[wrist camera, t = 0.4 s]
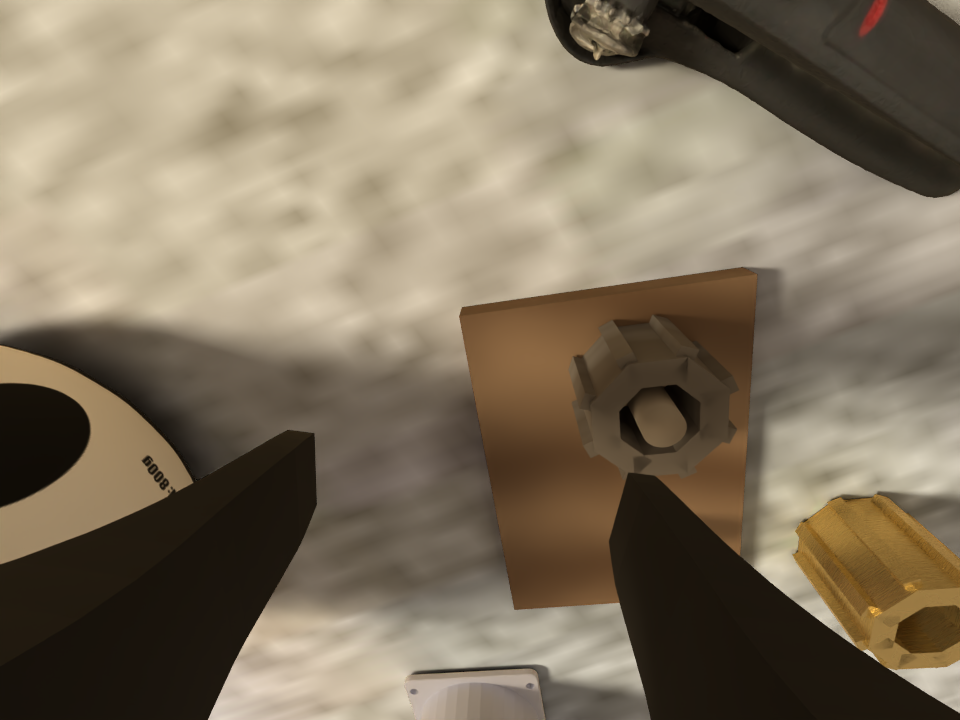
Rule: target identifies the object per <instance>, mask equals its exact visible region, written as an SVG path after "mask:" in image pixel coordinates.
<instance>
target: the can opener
mask: <svg viewBox="0 0 960 720" xmlns="http://www.w3.org/2000/svg"><path fill="white" fill-rule="evenodd" d="M545 4H546V9H547V13H548V16H549V19H550V23H551V25H552V27H553V30H554V32H555V34H556V36H557V38H558V39H559V41H560V42H561V44H562V45H563V47H564V48H565V49H566V50H567V51H568V52H569V53H570V54H571V55H573V56H574V57H575V58H576V59H578V60H580V61H582V62H584V63H587V64H590V65H596V66H602V67H603V66H610V65H618V64H622V63H628V62H631V61H638V60H642V59H645V58H653V57H658V58H664V59H667V60H670V61H673V62H676V63H678V64H682V65H684V66H686V67H689V68H692V69H694V70H697V71H699V72H701V73H704V74H707V75H708V76H710V77H712V78H714V79H716V80H718V81H721V82H723V83H724V84H726V85H727V86H729V87H730V88H733V89H735V90H737V91H738V92H740V93H741V94H743V95H745V96H746V97H748V98H749V99H750V100H752V101H754V102H756V103H757V104H759V105H760V106H761V107H763V108H764V109H766V110H767V111H769V112H771V113H772V114H774V115H775V116H776V117H778V118H779V119H781V120H782V121H784V122H785V123H787V124H789V125H790V126H792V127H793V128H795V129H797V130H798V131H800V132H801V133H803V134H804V135H806V136H808V137H809V138H811V139H812V140H814V141H816V142H817V143H819V144H820V145H822V146H824V147H826V148H827V149H829V150H830V151H832V152H834V153H835V154H837V155H839V156H841V157H842V158H844V159H846V160H848V161H850V162H851V163H853V164H855V165H858V166H860V167H861V168H863V169H865V170H866V171H869V172H871V173H873V174H875V175H877V176H879V177H881V178H883V179H886V180H888V181H890V182H892V183H894V184H896V185H899V186H902V187H904V188H906V189H907V190H910V191H914V192H916V193H918V194H920V195H922V196H926V197H933V198H937V197H943V196H948V195H950V194H952V193H954V192H955V191H957V190H959V189H960V26H959V25H958V24H957V23H956V22H954V21H953V20H952V19H951V18H949V17H948V16H947V15H945V14H944V13H942V12H941V11H939V10H938V9H937V8H936V7H935V6H933V5H932V4H930V3H929V2H928V1H927V0H545Z"/></svg>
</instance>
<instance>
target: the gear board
mask: <svg viewBox="0 0 960 720" xmlns="http://www.w3.org/2000/svg"><path fill="white" fill-rule="evenodd" d="M756 290H757V274H756V273H754V272H751V271H749V270H747V269H745V268H743V267H741V268H734V269H727V270H720V271H713V272H706V273H699V274H692V275H685V276H678V277H671V278H664V279H657V280H650V281H643V282H636V283H629V284H622V285H615V286H608V287H601V288H594V289H587V290H580V291H573V292H566V293H559V294H552V295H545V296H538V297H531V298H524V299H517V300H510V301H503V302H496V303H489V304H482V305H475V306H468V307H462V309H461V312H460V315H459V318H460V323H461V328H462V334H463V339H464V344H465V350H466V355H467V360H468V365H469V371H470V376H471V381H472V387H473V392H474V397H475V403H476V408H477V413H478V419H479V424H480V429H481V435H482V440H483V445H484V450H485V456H486V461H487V466H488V472H489V477H490V482H491V488H492V493H493V498H494V504H495V509H496V514H497V519H498V525H499V530H500V535H501V541H502V546H503V551H504V557H505V562H506V567H507V573H508V578H509V583H510V589H511V594H512V599H513V604H514V610H519V609H533V608H548V607H563V606H577V605H592V604H607V603H620V602H619V598H618V594H617V590H616V587H615V582H614V575H613V569H612V562H611V555H610V547H609V539H610V535H611V532H612V528H613V525H614V521H615V517H616V514H617V510H618V507H619V503H620V500H621V496H622V493H623V489H624V485H625V482H626V478H627V475H628V472H630V473H638V474H646V475H654V476H656V477H657V478H658V479H660V480H661V481H662V482H663V483H664V484H665V485H666V486H667V487H668V488H669V489H670V490H671V491H672V492H673V493H674V494H675V495H676V496H677V497H678V498H679V499H681V500H682V501H683V502H684V503H685V504H686V505H687V506H688V507H689V508H690V509H691V510H692V511H693V512H694V513H695V514H696V515H697V516H698V517H699V518H700V519H701V520H702V521H703V522H704V523H705V524H706V525H707V526H708V527H709V528H710V529H711V530H712V531H713V532H714V533H715V534H717V535H718V536H719V537H720V538H721V539H722V540H723V541H724V542H725V543H726V544H727V545H728V546H729V547H731V548H732V549H733V550H734V551H735V552H736V553H737V554H738V555H739V556H740V549H741V533H742V517H743V501H744V484H745V468H746V452H747V436H748V419H749V403H750V387H751V371H752V354H753V338H754V322H755V306H756Z"/></svg>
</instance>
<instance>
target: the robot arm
mask: <svg viewBox="0 0 960 720" xmlns="http://www.w3.org/2000/svg"><path fill="white" fill-rule="evenodd" d="M316 505H317V497H316V467H315V437H314V433H308V432H300V431H292V430H287V431H285V432H283V433H281V434H279V435H277V436H276V437H274V438H272V439H270V440H269V441H267V442H265V443H263V444H262V445H260V446H258V447H257V448H255V449H253V450H251V451H250V452H248V453H246V454H245V455H243V456H241V457H239V458H238V459H236V460H234V461H232V462H231V463H229V464H227V465H225V466H224V467H222V468H220V469H218V470H217V471H215V472H213V473H211V474H209V475H208V476H206V477H204V478H202V479H200V480H198V481H196V482H194V483H192V484H190V485H188V486H187V487H185V488H183V489H181V490H179V491H177V492H175V493H173V494H171V495H169V496H167V497H165V498H164V499H162V500H160V501H158V502H156V503H153V504H151V505H149V506H147V507H145V508H143V509H141V510H139V511H136V512H134V513H132V514H130V515H128V516H125V517H123V518H121V519H118V520H116V521H114V522H111V523H109V524H107V525H104V526H102V527H100V528H97V529H95V530H92V531H90V532H88V533H85V534H82V535H80V536H77V537H74V538H72V539H69V540H66V541H64V542H61V543H58V544H56V545H53V546H50V547H48V548H45V549H42V550H40V551H37V552H34V553H32V554H29V555H26V556H23V557H21V558H18V559H15V560H12V561H9V562H6V563H3V564H0V720H208V718H209V716H210V714H211V711H212V709H213V707H214V705H215V703H216V701H217V698H218V696H219V694H220V692H221V690H222V687H223V685H224V683H225V681H226V679H227V677H228V674H229V672H230V670H231V668H232V666H233V664H234V662H235V660H236V658H237V656H238V654H239V652H240V650H241V648H242V646H243V644H244V643H245V641H246V639H247V637H248V635H249V634H250V632H251V630H252V628H253V627H254V625H255V623H256V621H257V620H258V618H259V616H260V614H261V613H262V611H263V609H264V608H265V606H266V604H267V602H268V601H269V599H270V597H271V595H272V594H273V592H274V590H275V588H276V587H277V585H278V583H279V582H280V580H281V578H282V576H283V575H284V573H285V571H286V569H287V568H288V566H289V564H290V562H291V560H292V559H293V557H294V555H295V553H296V552H297V550H298V548H299V546H300V544H301V542H302V539H303V537H304V535H305V533H306V530H307V528H308V525H309V523H310V520H311V518H312V515H313V513H314V510H315V508H316ZM609 547H610V555H611V562H612V569H613V575H614V582H615V587H616V590H617V594H618V598H619V602H620V605H621V609H622V613H623V616H624V620H625V624H626V627H627V631H628V634H629V638H630V641H631V645H632V648H633V652H634V656H635V659H636V663H637V666H638V670H639V673H640V677H641V680H642V684H643V688H644V691H645V696H646V700H647V704H648V708H649V712H650V717H651V720H960V713H958V712H957V711H955V710H953V709H952V708H950V707H948V706H947V705H945V704H943V703H942V702H940V701H938V700H937V699H935V698H933V697H932V696H930V695H928V694H927V693H925V692H924V691H922V690H921V689H919V688H917V687H916V686H914V685H913V684H911V683H910V682H908V681H906V680H905V679H903V678H902V677H900V676H898V675H897V674H895V673H894V672H892V671H891V670H889V669H888V668H886V667H885V666H883V665H882V664H880V663H879V662H877V661H876V660H875V659H873V658H872V657H870V656H869V655H867V654H866V653H864V652H863V651H861V650H860V649H858V648H857V647H855V646H854V645H852V644H851V643H849V642H848V641H847V640H845V639H844V638H842V637H841V636H840V635H838V634H837V633H835V632H834V631H833V630H831V629H830V628H828V627H827V626H826V625H824V624H823V623H822V622H820V621H819V620H818V619H816V618H815V617H814V616H812V615H811V614H810V613H809V612H807V611H806V610H805V609H803V608H802V607H801V606H799V605H798V604H797V603H795V602H794V601H793V600H792V599H790V598H789V597H788V596H786V595H785V594H784V593H783V592H781V591H780V590H779V589H778V588H777V587H775V586H774V585H773V584H772V583H770V582H769V581H768V580H767V579H766V578H765V577H763V576H762V575H761V574H760V573H759V572H758V571H757V570H755V569H754V568H753V567H752V566H751V565H750V564H748V563H747V562H746V561H745V560H744V559H743V558H742V557H740V556H739V555H738V554H737V553H736V552H735V551H734V550H733V549H732V548H731V547H729V546H728V545H727V544H726V543H725V542H724V541H723V540H722V539H721V538H720V537H719V536H718V535H717V534H715V533H714V532H713V531H712V530H711V529H710V528H709V527H708V526H707V525H706V524H705V523H704V522H703V521H702V520H701V519H700V518H699V517H698V516H697V515H696V514H695V513H694V512H693V511H692V510H691V509H690V508H689V507H688V506H687V505H686V504H685V503H684V502H683V501H682V500H681V499H679V498H678V497H677V496H676V495H675V494H674V493H673V492H672V491H671V490H670V489H669V488H668V487H667V486H666V485H665V484H664V483H663V482H662V481H661V480H660V479H658V478H657V477H656V476H654V475H646V474H638V473H630V472H628V475H627V478H626V482H625V485H624V489H623V493H622V496H621V500H620V503H619V507H618V510H617V514H616V517H615V521H614V525H613V528H612V532H611V535H610V539H609ZM404 686H405V689H406V692H407V695H408V698H409V701H410V704H411V707H412V710H413V712H414V715H415V718H416V720H546V719H545V713H544V707H543V702H542V696H541V690H540V684H539V679H538V674H537V672H536V671H535V670H533V669H510V670H491V671H473V672H454V673H435V674H417V675H409V676H407V677H406V679H405V683H404Z"/></svg>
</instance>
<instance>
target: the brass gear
mask: <svg viewBox="0 0 960 720" xmlns="http://www.w3.org/2000/svg"><path fill="white" fill-rule="evenodd" d="M827 503H828V505H827V506H825V507H824V508H823V509H821V510H820V511H819V512H817V513H816V514H815V515H813V516H812V517H811V518H809V519H808V520H807V521H805V522H801V523H800V524H799V526H798V527H797V529H796V531H795V532H796V533H797V535H798V536H799V545H798V553H795V554H792V555H793V557H794V559H795V561H796V563H797V564H798V566H799V567H800V569H801V570H802V571H803V573H804V574H805V576H806V577H807V578H808V580H809V581H810V583H811V584H812V585H813V587H814V588H815V590H816V591H817V592H818V594H819V595H820V597H821V598H822V599H823V601H824V602H825V604H826V605H827V606H828V608H829V609H830V611H831V612H832V613H833V615H834V616H835V618H836V619H837V620H838V622H839V623H840V625H841V626H842V627H843V629H844V630H845V632H846V633H847V634H848V636H849V637H850V639H851V640H852V641H853V643H854V644H855V646H856V647H857V648H858V649H860V650H861V651H863V650H866V649H868V650H869V651H871V652H872V653H873V654H874V655H875V657H876V658H877V659H878V661H879V662H880V663H881V664H882V665H883V666H885V667H886V668H890V669H894V670H897V669H914V668H934V667H935V668H938V667H947V666H949V665H951V664H953V663H955V662H956V661H958V660H960V558H958V557H957V556H956V555H955V554H954V553H953V552H952V551H951V550H949V549H948V548H947V547H946V546H945V545H944V544H943V543H941V542H940V541H939V540H938V539H937V538H936V537H935V536H934V535H932V534H931V533H930V532H929V531H928V530H927V529H926V528H925V527H923V526H922V525H921V524H920V523H919V522H918V521H917V520H915V519H914V518H913V517H912V516H911V515H910V514H909V513H905V512H904V511H903V510H901V509H900V508H899V507H898V506H897V505H896V504H895V503H894V502H892V501H891V500H890V499H889V498H888V497H885V496H881V495H877V494H875V495H874V496H873V497H872V498H861V499H849V500H843V499H842V498H841V497H840V498H837V499H835V500H832V501H829V502H827Z"/></svg>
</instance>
